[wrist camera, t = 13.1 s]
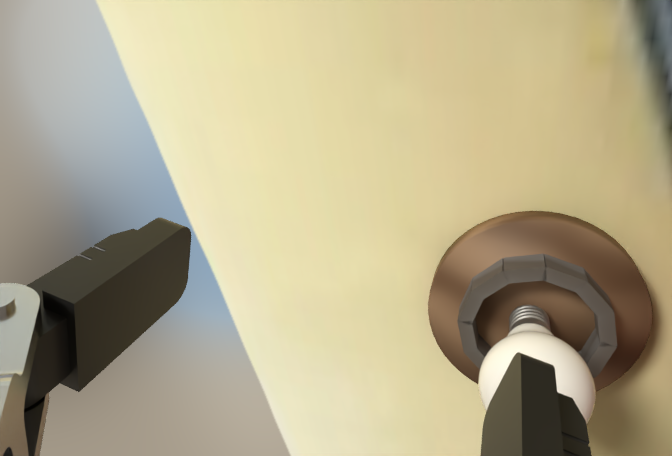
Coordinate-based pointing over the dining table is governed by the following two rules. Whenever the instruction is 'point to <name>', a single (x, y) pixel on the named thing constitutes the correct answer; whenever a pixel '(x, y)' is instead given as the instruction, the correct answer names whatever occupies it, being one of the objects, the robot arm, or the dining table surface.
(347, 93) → the dining table surface
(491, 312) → the lamp base
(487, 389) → the lightbulb
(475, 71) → the dining table surface
